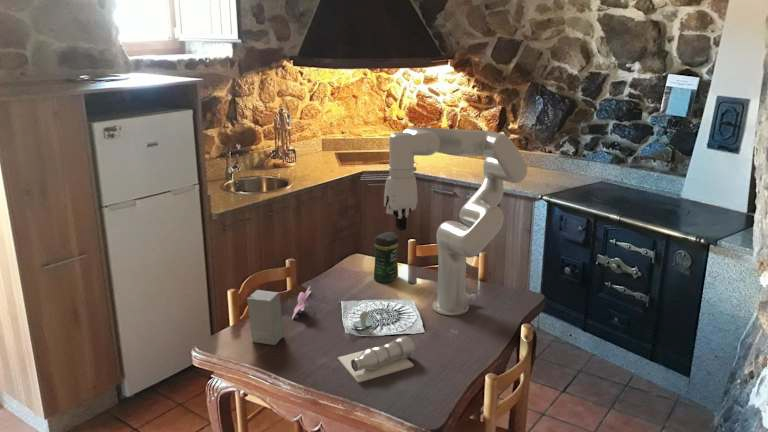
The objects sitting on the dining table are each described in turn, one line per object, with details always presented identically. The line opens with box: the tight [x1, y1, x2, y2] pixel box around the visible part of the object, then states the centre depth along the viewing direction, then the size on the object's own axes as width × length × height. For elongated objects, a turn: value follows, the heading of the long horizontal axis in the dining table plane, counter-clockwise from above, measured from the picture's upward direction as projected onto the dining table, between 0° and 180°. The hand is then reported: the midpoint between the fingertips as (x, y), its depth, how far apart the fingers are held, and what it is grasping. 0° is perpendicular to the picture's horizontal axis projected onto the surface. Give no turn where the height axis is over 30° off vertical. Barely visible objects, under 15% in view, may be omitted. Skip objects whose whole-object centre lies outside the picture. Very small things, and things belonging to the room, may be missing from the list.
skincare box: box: [246, 289, 285, 346], centre depth 191 cm, size 8×7×16 cm
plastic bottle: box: [351, 335, 416, 372], centre depth 178 cm, size 6×7×20 cm
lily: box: [291, 286, 316, 320], centre depth 210 cm, size 12×12×10 cm
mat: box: [337, 349, 414, 383], centre depth 181 cm, size 18×14×1 cm
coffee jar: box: [373, 231, 400, 283], centre depth 237 cm, size 10×8×19 cm
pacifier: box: [351, 310, 374, 330], centre depth 201 cm, size 7×6×6 cm
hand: (401, 228), depth 194 cm, fingers closed
